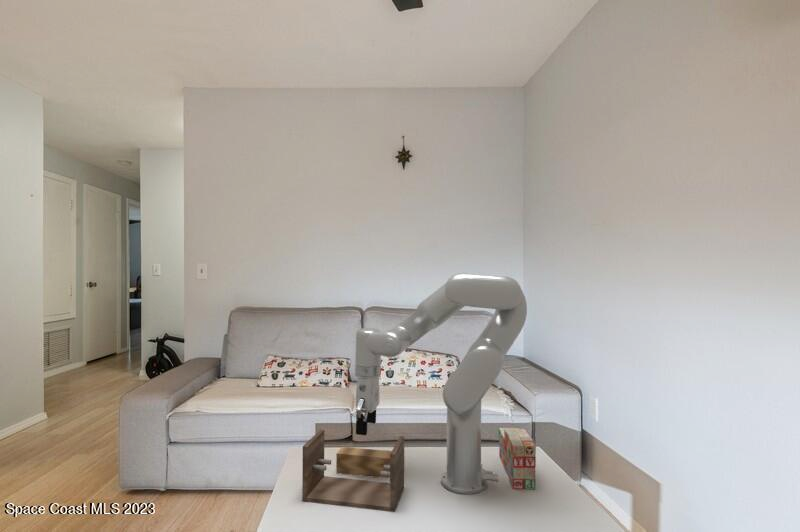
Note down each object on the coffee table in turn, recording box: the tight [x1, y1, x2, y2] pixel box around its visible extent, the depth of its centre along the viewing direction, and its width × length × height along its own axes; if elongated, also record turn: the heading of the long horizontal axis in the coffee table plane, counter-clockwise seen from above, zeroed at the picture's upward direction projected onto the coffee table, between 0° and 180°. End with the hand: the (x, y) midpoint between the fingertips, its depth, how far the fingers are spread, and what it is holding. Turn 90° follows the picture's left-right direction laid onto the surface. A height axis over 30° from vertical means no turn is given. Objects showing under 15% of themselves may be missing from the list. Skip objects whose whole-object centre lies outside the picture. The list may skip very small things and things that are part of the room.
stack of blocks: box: [498, 427, 537, 491], centre depth 128 cm, size 21×6×12 cm, turn 177°
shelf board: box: [335, 446, 392, 479], centre depth 127 cm, size 18×5×6 cm, turn 78°
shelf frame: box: [301, 429, 405, 512], centre depth 115 cm, size 24×12×14 cm, turn 78°
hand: (366, 428), depth 128 cm, fingers open, 9 cm apart
